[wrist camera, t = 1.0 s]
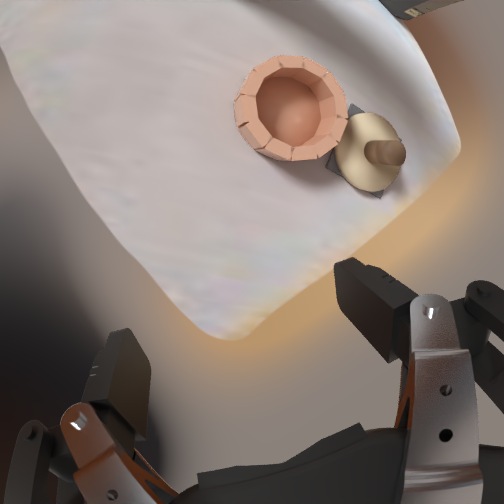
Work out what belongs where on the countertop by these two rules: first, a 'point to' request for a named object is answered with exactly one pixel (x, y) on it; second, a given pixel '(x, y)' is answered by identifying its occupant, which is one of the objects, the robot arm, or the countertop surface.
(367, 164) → the lid
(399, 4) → the liquor
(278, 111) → the bowl
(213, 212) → the countertop surface
